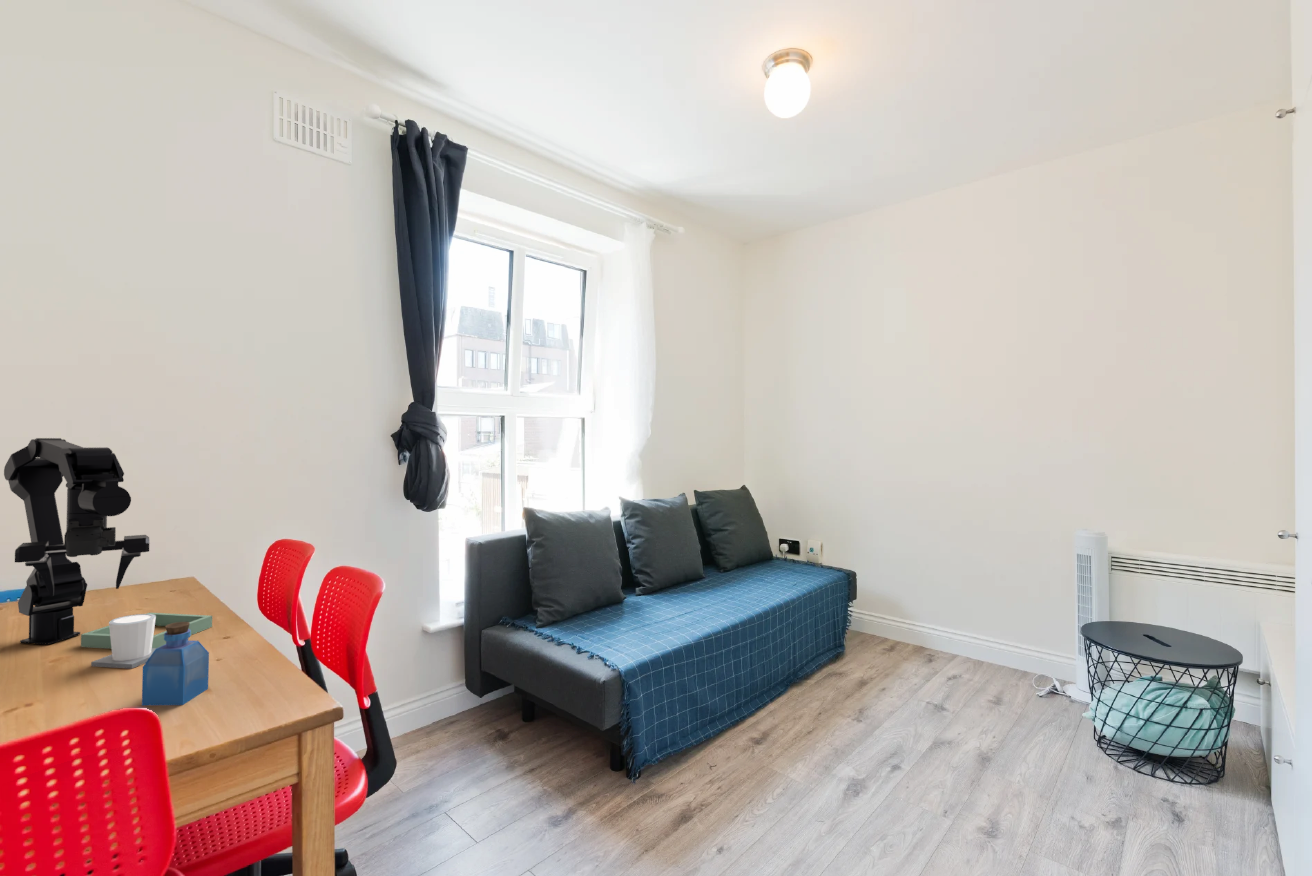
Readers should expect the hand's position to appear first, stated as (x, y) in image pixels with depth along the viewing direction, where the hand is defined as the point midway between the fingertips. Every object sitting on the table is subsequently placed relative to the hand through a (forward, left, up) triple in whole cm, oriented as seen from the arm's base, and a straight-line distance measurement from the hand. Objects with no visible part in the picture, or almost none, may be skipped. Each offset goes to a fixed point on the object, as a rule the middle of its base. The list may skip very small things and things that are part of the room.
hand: (85, 592), depth 117 cm
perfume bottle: (+33, -15, -12) cm, 38 cm away
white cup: (+11, -1, -11) cm, 16 cm away
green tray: (+4, +10, -12) cm, 16 cm away
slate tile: (+11, -2, -12) cm, 17 cm away
